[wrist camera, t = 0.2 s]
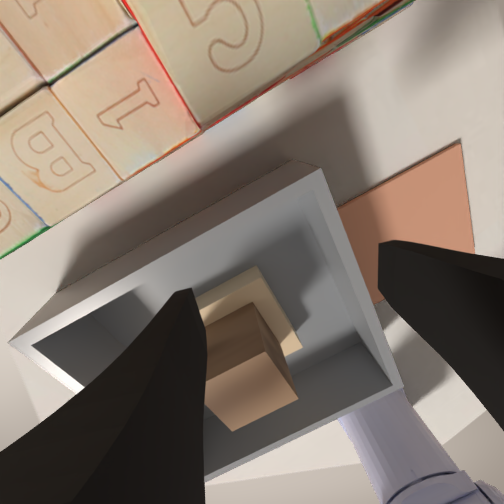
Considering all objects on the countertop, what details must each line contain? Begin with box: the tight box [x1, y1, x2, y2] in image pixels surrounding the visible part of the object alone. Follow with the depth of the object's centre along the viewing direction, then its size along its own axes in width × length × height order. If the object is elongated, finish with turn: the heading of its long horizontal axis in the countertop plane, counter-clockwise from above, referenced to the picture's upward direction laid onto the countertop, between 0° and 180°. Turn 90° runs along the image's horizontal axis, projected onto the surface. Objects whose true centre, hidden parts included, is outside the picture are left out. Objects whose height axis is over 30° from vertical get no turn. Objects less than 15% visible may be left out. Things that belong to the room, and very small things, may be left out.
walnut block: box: [204, 302, 299, 432], centre depth 19 cm, size 5×5×5 cm
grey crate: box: [8, 159, 404, 483], centre depth 21 cm, size 20×20×6 cm
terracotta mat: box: [337, 143, 475, 305], centre depth 21 cm, size 10×10×1 cm
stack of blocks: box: [0, 0, 416, 259], centre depth 10 cm, size 21×6×12 cm, turn 119°
